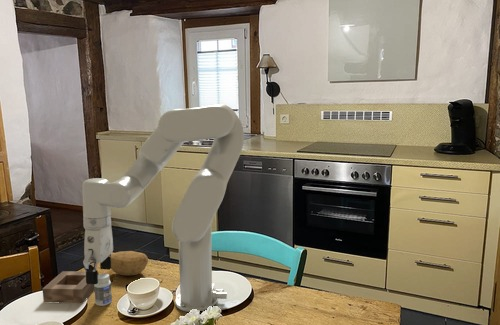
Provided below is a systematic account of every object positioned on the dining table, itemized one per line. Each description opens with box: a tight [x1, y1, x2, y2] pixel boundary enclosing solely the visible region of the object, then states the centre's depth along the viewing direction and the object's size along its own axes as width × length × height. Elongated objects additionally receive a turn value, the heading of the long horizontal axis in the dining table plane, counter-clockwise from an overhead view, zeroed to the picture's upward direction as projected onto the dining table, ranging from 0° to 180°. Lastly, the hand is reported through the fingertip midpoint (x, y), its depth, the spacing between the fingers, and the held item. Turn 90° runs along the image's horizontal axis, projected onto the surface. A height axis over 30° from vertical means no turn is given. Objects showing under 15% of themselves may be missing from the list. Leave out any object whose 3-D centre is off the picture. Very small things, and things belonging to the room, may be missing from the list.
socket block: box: [42, 270, 100, 304], centre depth 125 cm, size 12×12×4 cm
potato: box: [109, 250, 149, 277], centre depth 138 cm, size 10×14×8 cm
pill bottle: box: [94, 272, 113, 306], centre depth 119 cm, size 5×5×8 cm
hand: (99, 276), depth 118 cm, fingers open, 9 cm apart
